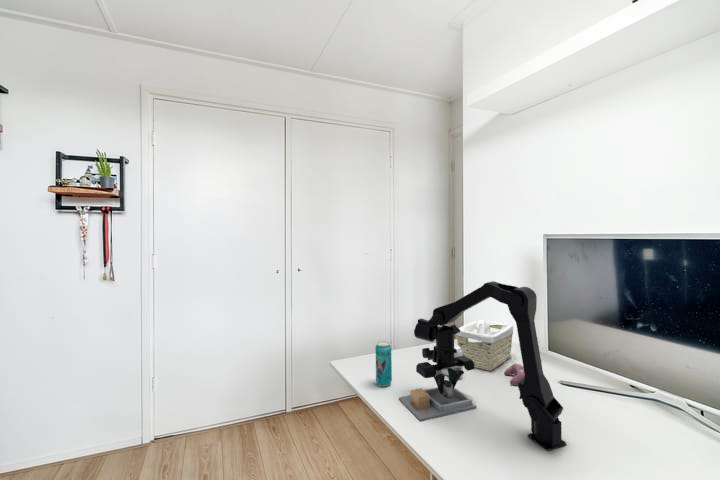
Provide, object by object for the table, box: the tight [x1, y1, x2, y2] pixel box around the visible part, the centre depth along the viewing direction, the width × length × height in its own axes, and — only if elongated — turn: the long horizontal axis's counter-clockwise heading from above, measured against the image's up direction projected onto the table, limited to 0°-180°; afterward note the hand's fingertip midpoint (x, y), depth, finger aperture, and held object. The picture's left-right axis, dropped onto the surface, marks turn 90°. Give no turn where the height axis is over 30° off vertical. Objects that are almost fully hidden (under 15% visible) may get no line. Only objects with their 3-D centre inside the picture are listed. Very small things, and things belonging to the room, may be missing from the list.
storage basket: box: [455, 319, 514, 372], centre depth 143 cm, size 24×16×15 cm
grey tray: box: [398, 387, 477, 422], centre depth 107 cm, size 14×20×5 cm
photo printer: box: [442, 343, 464, 380], centre depth 129 cm, size 10×4×12 cm, turn 39°
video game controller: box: [504, 362, 525, 386], centre depth 123 cm, size 10×5×7 cm, turn 169°
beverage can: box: [375, 340, 393, 387], centre depth 122 cm, size 6×6×15 cm
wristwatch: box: [442, 379, 453, 399], centre depth 108 cm, size 4×6×5 cm, turn 16°
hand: (445, 392), depth 108 cm, fingers closed on wristwatch, 3 cm apart
